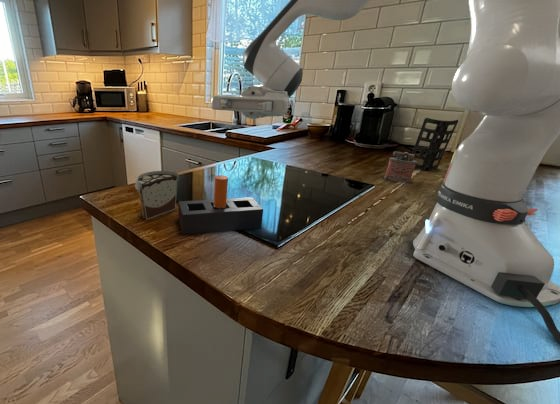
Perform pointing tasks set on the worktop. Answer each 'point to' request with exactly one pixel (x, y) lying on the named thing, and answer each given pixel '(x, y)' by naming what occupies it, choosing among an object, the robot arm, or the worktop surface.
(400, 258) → the worktop surface
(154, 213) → the food container
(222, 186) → the orange cylinder
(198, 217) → the pen holder
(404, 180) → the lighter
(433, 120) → the holder
